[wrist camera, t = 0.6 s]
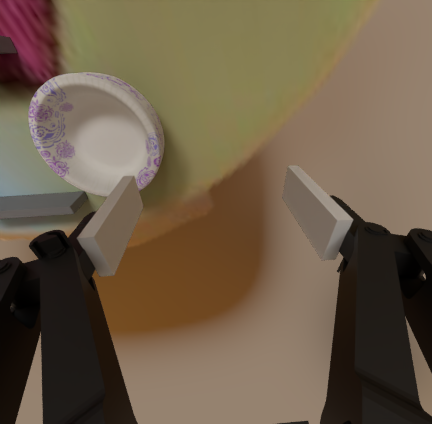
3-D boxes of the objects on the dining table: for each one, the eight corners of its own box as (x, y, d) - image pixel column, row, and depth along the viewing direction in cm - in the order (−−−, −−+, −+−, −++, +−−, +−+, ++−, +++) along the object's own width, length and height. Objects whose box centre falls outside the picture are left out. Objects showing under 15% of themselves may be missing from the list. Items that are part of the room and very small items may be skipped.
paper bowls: (172, 176, 36) (166, 199, 30) (85, 176, 35) (59, 199, 29) (162, 74, 27) (149, 75, 21) (45, 70, 26) (-6, 69, 20)
